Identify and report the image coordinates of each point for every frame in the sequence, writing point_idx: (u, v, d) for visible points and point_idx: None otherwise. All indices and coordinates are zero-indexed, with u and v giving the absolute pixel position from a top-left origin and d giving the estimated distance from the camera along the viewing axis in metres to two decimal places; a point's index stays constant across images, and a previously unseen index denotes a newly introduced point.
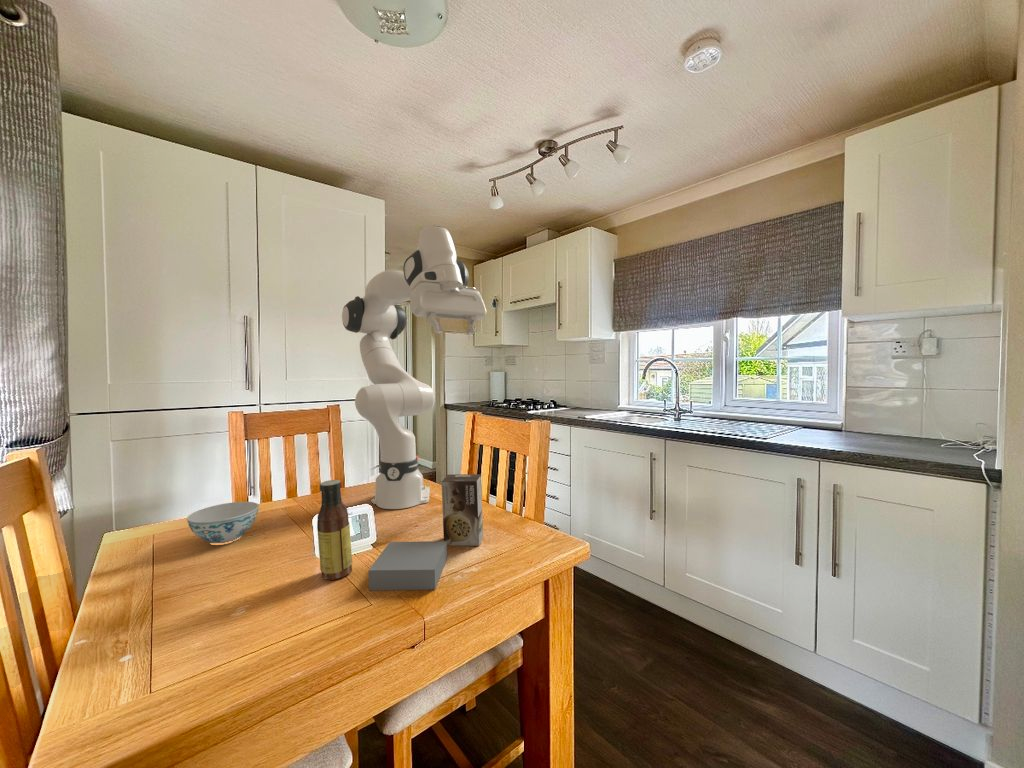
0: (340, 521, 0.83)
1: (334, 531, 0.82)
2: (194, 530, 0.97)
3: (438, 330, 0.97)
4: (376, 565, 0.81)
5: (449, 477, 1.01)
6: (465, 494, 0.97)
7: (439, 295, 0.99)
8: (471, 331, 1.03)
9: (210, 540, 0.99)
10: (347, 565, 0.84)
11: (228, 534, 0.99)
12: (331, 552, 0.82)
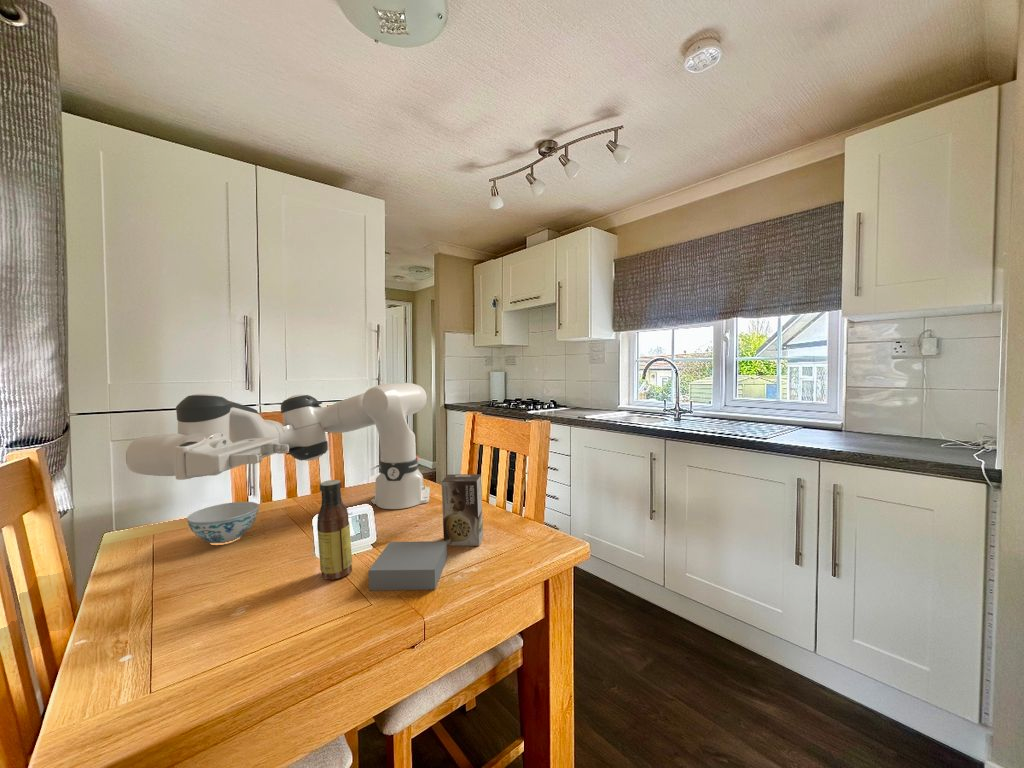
0: (340, 521, 0.83)
1: (334, 531, 0.82)
2: (194, 530, 0.97)
3: (257, 455, 0.80)
4: (376, 565, 0.81)
5: (449, 477, 1.01)
6: (465, 494, 0.97)
7: (218, 450, 0.81)
8: (284, 445, 0.89)
9: (210, 540, 0.99)
10: (347, 565, 0.84)
11: (228, 534, 0.99)
12: (331, 552, 0.82)
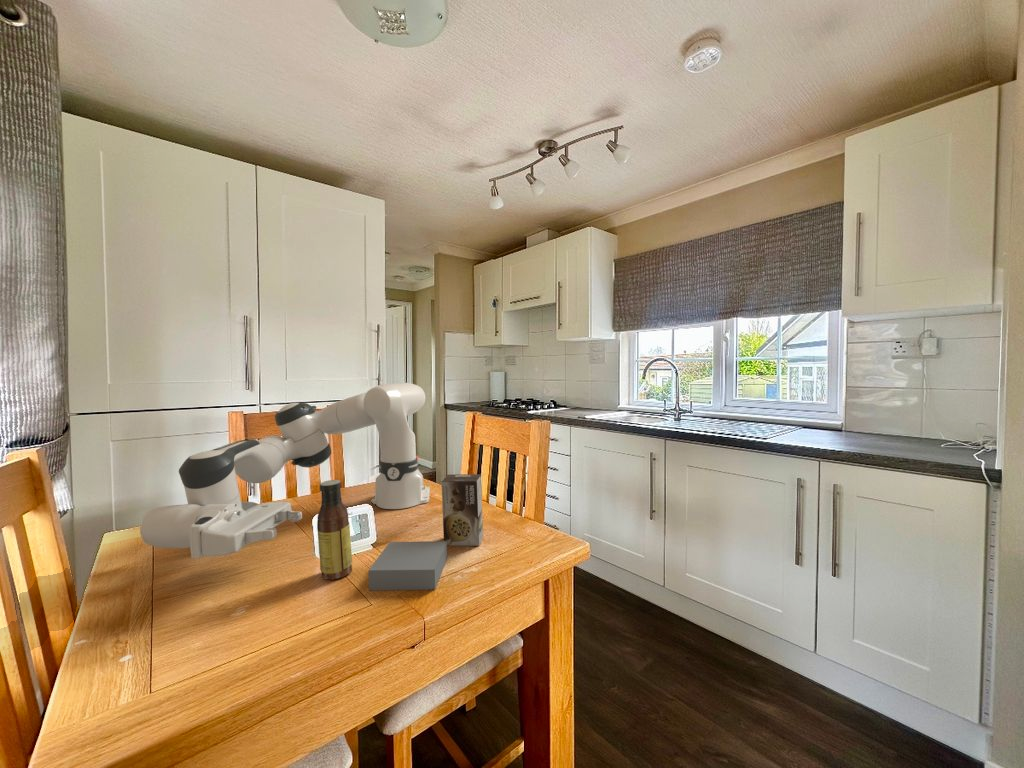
0: (340, 521, 0.83)
1: (334, 531, 0.82)
2: None
3: (272, 531, 0.80)
4: (376, 565, 0.81)
5: (449, 477, 1.01)
6: (465, 494, 0.97)
7: (233, 524, 0.82)
8: (297, 513, 0.89)
9: None
10: (347, 565, 0.84)
11: None
12: (331, 552, 0.82)
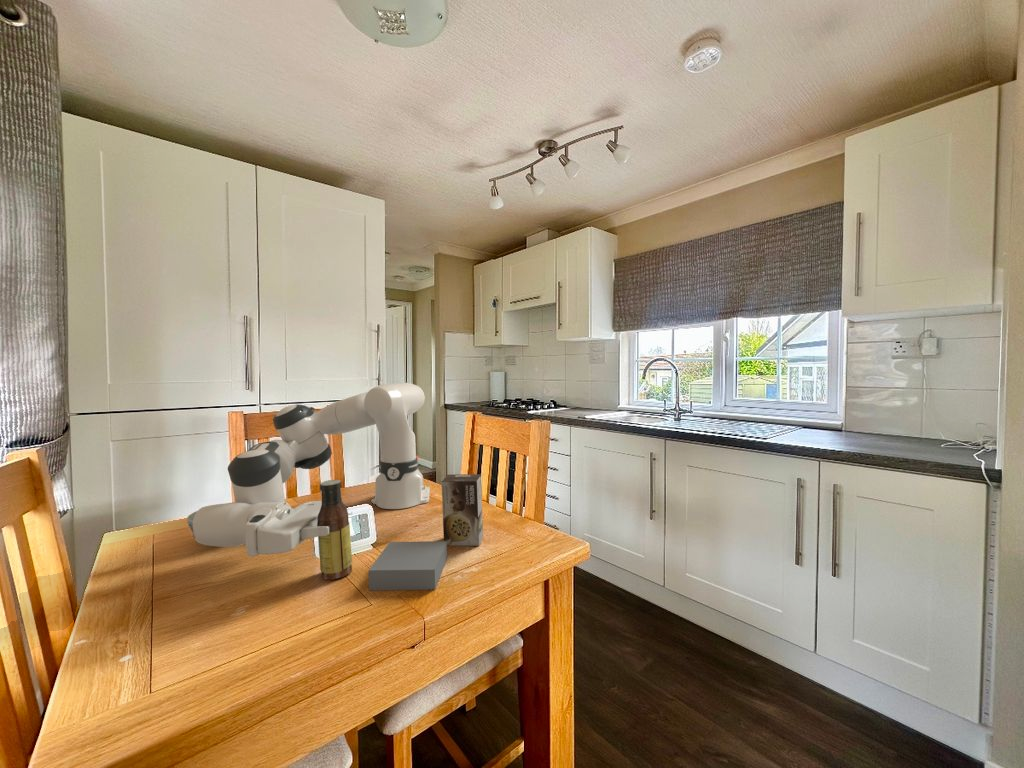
0: (341, 521, 0.83)
1: (334, 531, 0.82)
2: None
3: (327, 527, 0.81)
4: (376, 565, 0.81)
5: (449, 477, 1.01)
6: (465, 494, 0.97)
7: (285, 522, 0.82)
8: None
9: None
10: (347, 565, 0.84)
11: None
12: (331, 552, 0.82)
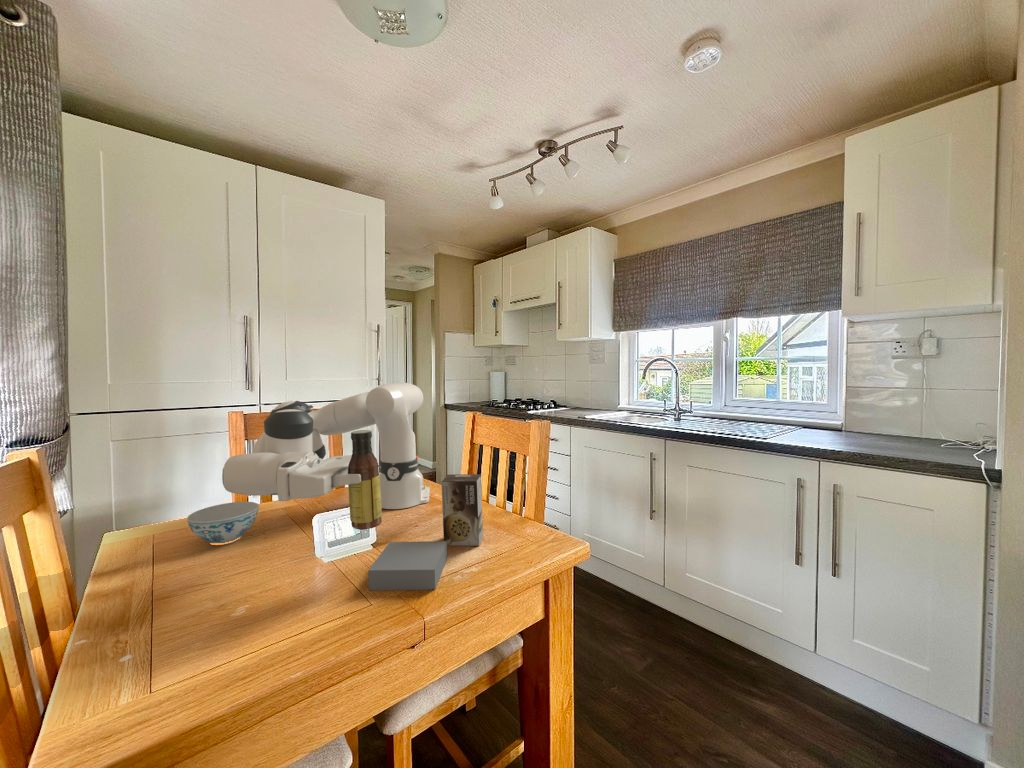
0: (371, 470, 0.82)
1: (365, 480, 0.81)
2: (194, 530, 0.97)
3: (359, 475, 0.79)
4: (376, 565, 0.81)
5: (449, 477, 1.01)
6: (465, 494, 0.97)
7: (315, 470, 0.80)
8: None
9: (210, 540, 0.99)
10: (377, 516, 0.83)
11: (228, 534, 0.99)
12: (362, 501, 0.81)
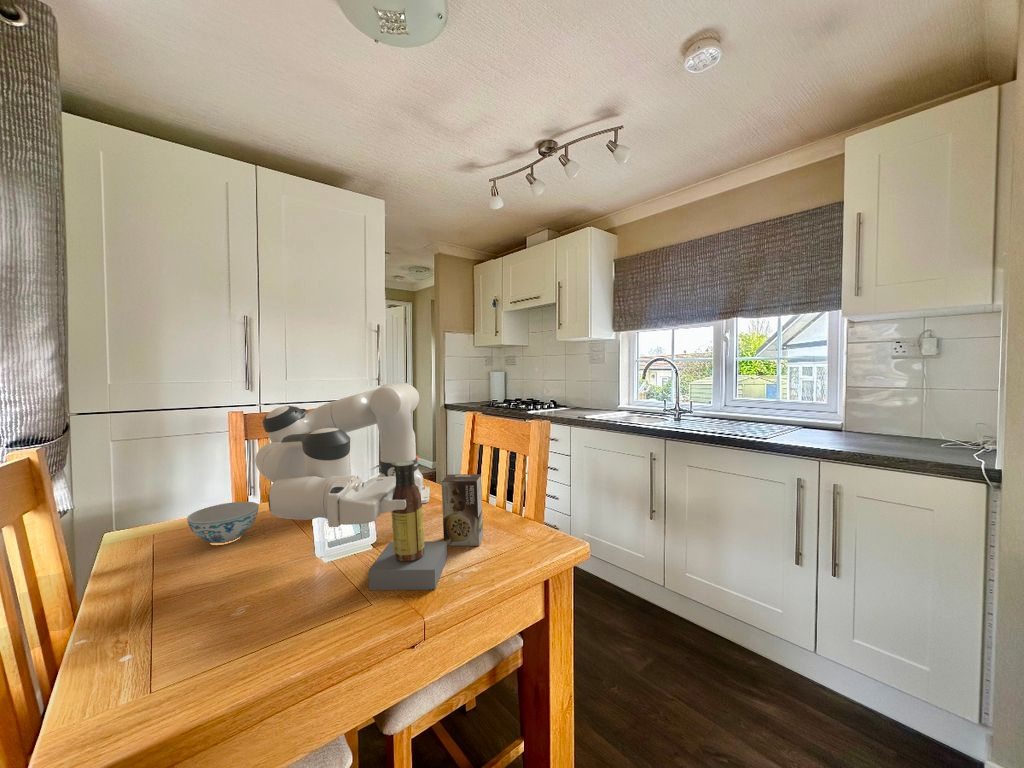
0: (416, 502, 0.82)
1: (410, 512, 0.81)
2: (194, 530, 0.97)
3: (404, 501, 0.79)
4: (376, 565, 0.81)
5: (449, 477, 1.01)
6: (465, 494, 0.97)
7: (362, 494, 0.81)
8: None
9: (210, 540, 0.99)
10: (421, 547, 0.83)
11: (228, 534, 0.99)
12: (407, 533, 0.81)
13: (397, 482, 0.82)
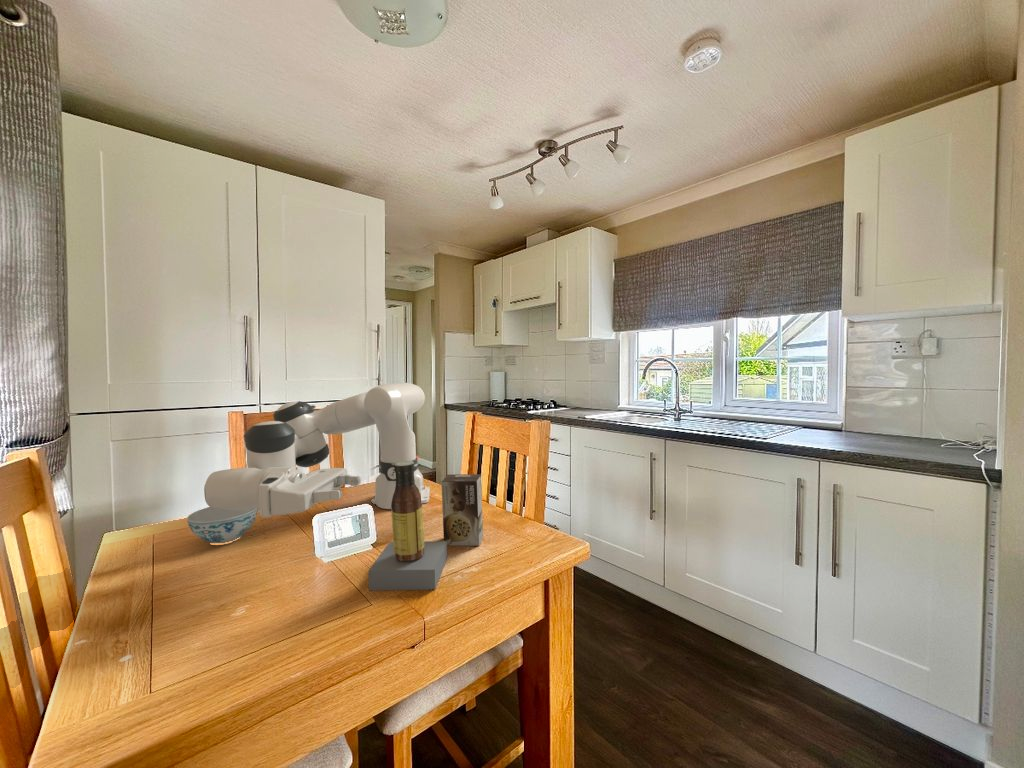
0: (416, 502, 0.82)
1: (410, 512, 0.81)
2: (194, 530, 0.97)
3: (338, 491, 0.79)
4: (376, 565, 0.81)
5: (449, 477, 1.01)
6: (465, 494, 0.97)
7: (297, 485, 0.81)
8: (357, 477, 0.89)
9: (210, 540, 0.99)
10: (421, 547, 0.83)
11: (228, 534, 0.99)
12: (407, 533, 0.81)
13: (397, 482, 0.82)
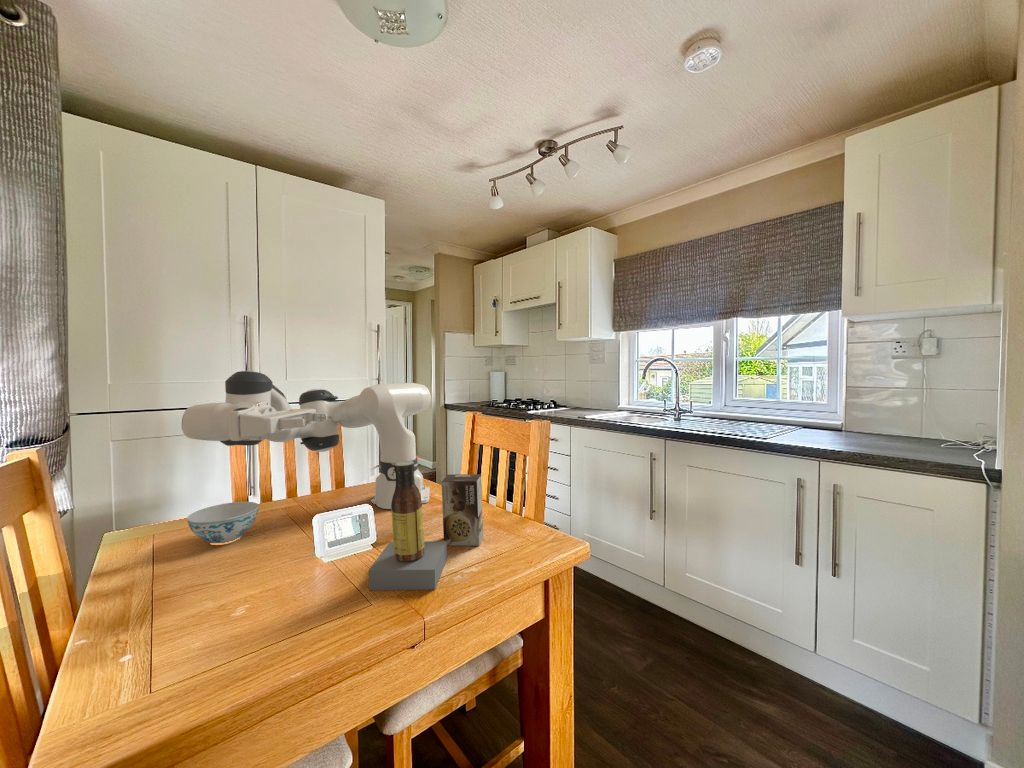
0: (416, 502, 0.82)
1: (410, 512, 0.81)
2: (194, 530, 0.97)
3: (303, 419, 0.87)
4: (376, 565, 0.81)
5: (449, 477, 1.01)
6: (465, 494, 0.97)
7: None
8: (323, 414, 0.97)
9: (210, 540, 0.99)
10: (421, 547, 0.83)
11: (228, 534, 0.99)
12: (407, 533, 0.81)
13: (397, 482, 0.82)
